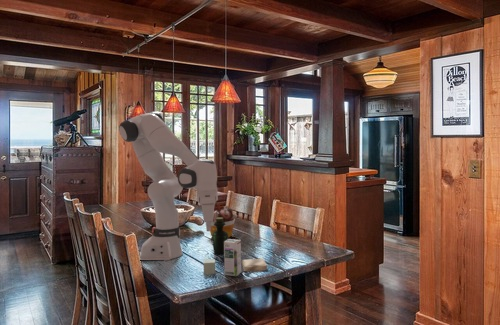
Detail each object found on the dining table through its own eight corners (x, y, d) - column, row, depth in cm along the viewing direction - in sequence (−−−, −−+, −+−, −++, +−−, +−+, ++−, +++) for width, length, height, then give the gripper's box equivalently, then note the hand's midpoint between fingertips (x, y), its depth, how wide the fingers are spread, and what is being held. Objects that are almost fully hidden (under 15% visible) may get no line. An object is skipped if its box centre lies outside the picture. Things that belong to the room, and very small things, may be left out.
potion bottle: (227, 250, 203) (226, 216, 202) (229, 255, 195) (228, 219, 194) (211, 251, 202) (210, 217, 201) (213, 256, 194) (212, 220, 193)
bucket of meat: (242, 237, 229) (241, 203, 227) (217, 242, 220) (216, 207, 218) (224, 231, 245) (223, 199, 244) (200, 235, 236) (199, 202, 235)
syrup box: (224, 275, 167) (223, 241, 166) (229, 270, 172) (229, 238, 171) (236, 276, 164) (235, 242, 164) (241, 272, 170) (241, 239, 169)
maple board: (244, 271, 171) (244, 266, 171) (241, 264, 181) (241, 259, 181) (266, 269, 172) (266, 265, 172) (263, 262, 182) (263, 258, 182)
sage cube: (203, 274, 168) (203, 263, 168) (203, 270, 173) (203, 259, 173) (215, 273, 169) (215, 262, 169) (215, 270, 174) (214, 258, 173)
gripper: (200, 193, 179) (201, 223, 180) (199, 200, 159) (201, 234, 160) (214, 193, 180) (215, 222, 181) (215, 200, 159) (216, 233, 160)
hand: (208, 228), depth 170 cm, fingers open, 8 cm apart
